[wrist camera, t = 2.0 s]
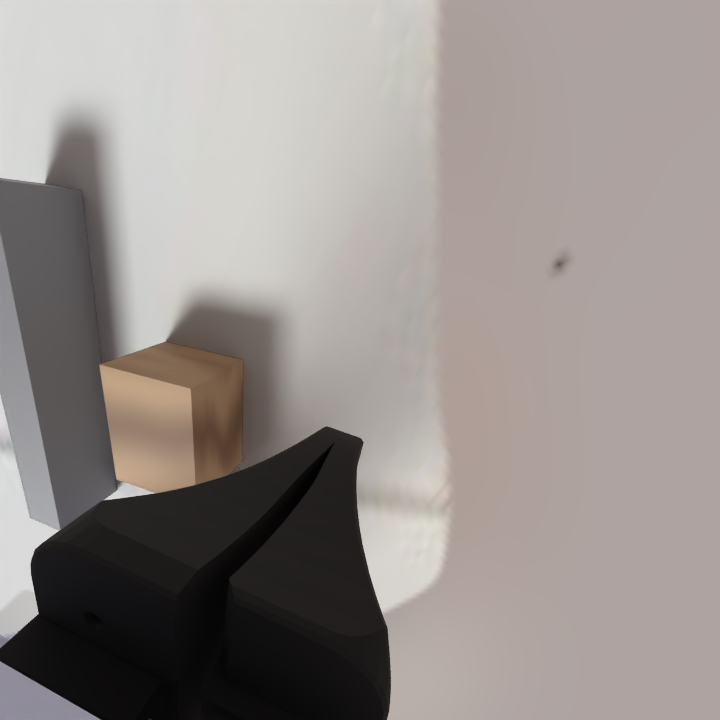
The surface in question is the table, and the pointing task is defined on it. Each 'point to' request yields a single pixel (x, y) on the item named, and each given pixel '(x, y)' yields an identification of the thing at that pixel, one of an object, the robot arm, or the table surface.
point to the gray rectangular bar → (51, 353)
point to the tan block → (173, 416)
